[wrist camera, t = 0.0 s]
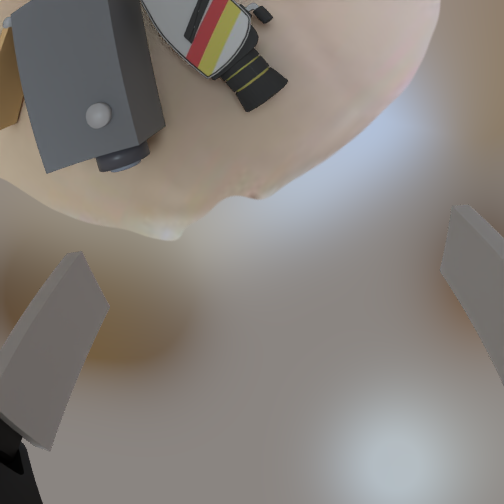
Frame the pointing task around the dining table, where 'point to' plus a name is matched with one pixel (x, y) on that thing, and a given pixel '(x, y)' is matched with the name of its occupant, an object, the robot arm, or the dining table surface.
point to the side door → (9, 78)
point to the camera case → (87, 81)
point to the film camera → (219, 43)
